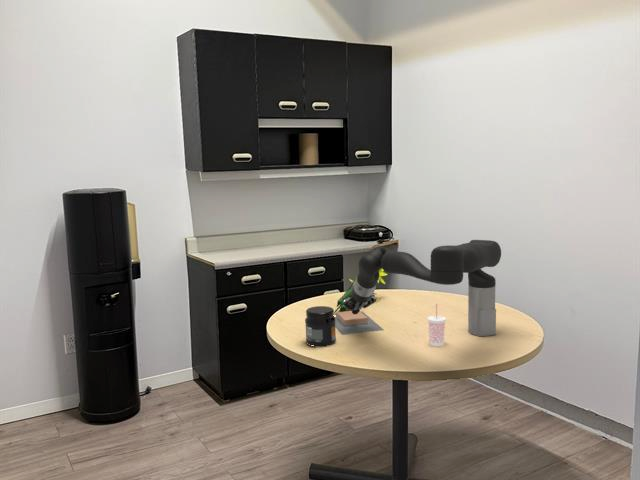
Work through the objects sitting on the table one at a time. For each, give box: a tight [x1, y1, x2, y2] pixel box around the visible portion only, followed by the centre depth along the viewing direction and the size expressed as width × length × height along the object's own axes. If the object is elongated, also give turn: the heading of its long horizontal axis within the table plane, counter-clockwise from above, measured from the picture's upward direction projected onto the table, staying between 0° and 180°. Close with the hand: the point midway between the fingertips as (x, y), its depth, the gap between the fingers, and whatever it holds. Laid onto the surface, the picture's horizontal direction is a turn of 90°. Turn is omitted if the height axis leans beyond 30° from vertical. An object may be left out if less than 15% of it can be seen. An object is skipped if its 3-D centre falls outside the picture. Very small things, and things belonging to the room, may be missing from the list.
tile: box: [336, 310, 368, 327], centre depth 228 cm, size 2×9×11 cm
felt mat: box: [334, 310, 385, 336], centre depth 227 cm, size 26×16×1 cm, turn 14°
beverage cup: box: [427, 303, 447, 347], centre depth 199 cm, size 6×6×14 cm
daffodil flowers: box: [334, 269, 388, 314], centre depth 251 cm, size 17×15×35 cm
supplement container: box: [304, 305, 337, 347], centre depth 205 cm, size 10×10×12 cm
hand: (354, 312), depth 221 cm, fingers closed
